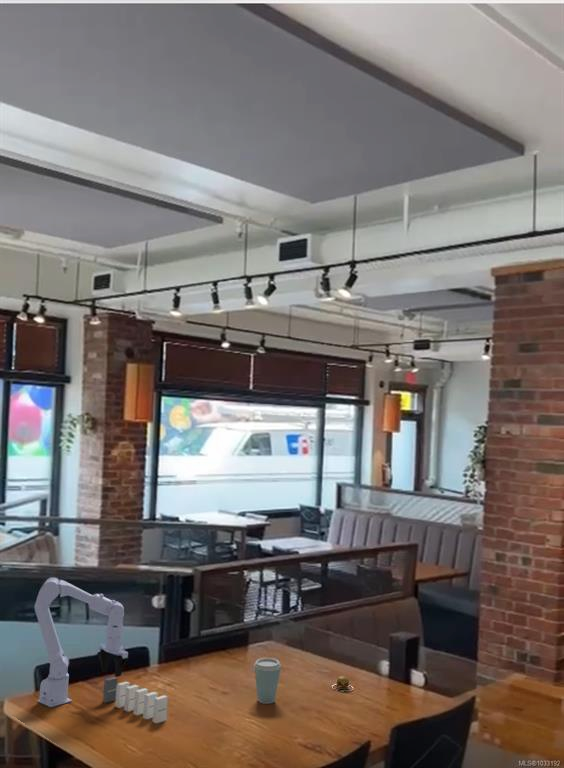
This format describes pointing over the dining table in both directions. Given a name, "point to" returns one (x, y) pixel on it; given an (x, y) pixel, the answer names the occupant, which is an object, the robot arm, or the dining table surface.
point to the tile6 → (160, 709)
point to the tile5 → (149, 705)
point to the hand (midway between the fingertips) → (111, 673)
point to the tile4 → (139, 701)
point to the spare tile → (110, 689)
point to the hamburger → (342, 683)
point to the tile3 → (130, 697)
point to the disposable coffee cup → (267, 679)
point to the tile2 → (121, 694)
